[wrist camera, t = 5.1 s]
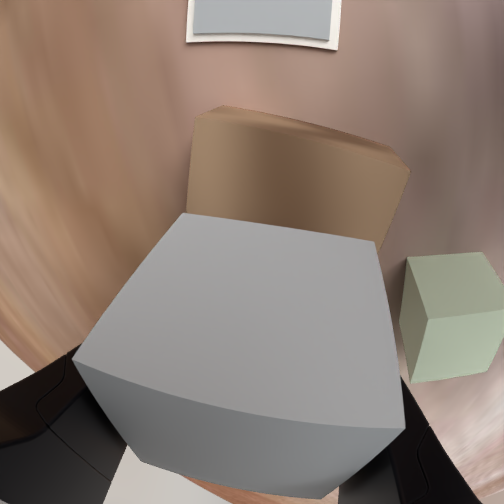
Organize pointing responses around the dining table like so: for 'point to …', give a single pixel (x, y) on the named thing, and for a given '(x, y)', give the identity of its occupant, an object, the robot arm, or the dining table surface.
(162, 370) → the grey cube
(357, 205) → the walnut base
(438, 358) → the sage cube
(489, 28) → the dining table surface
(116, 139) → the dining table surface
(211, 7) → the tile
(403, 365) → the dining table surface
